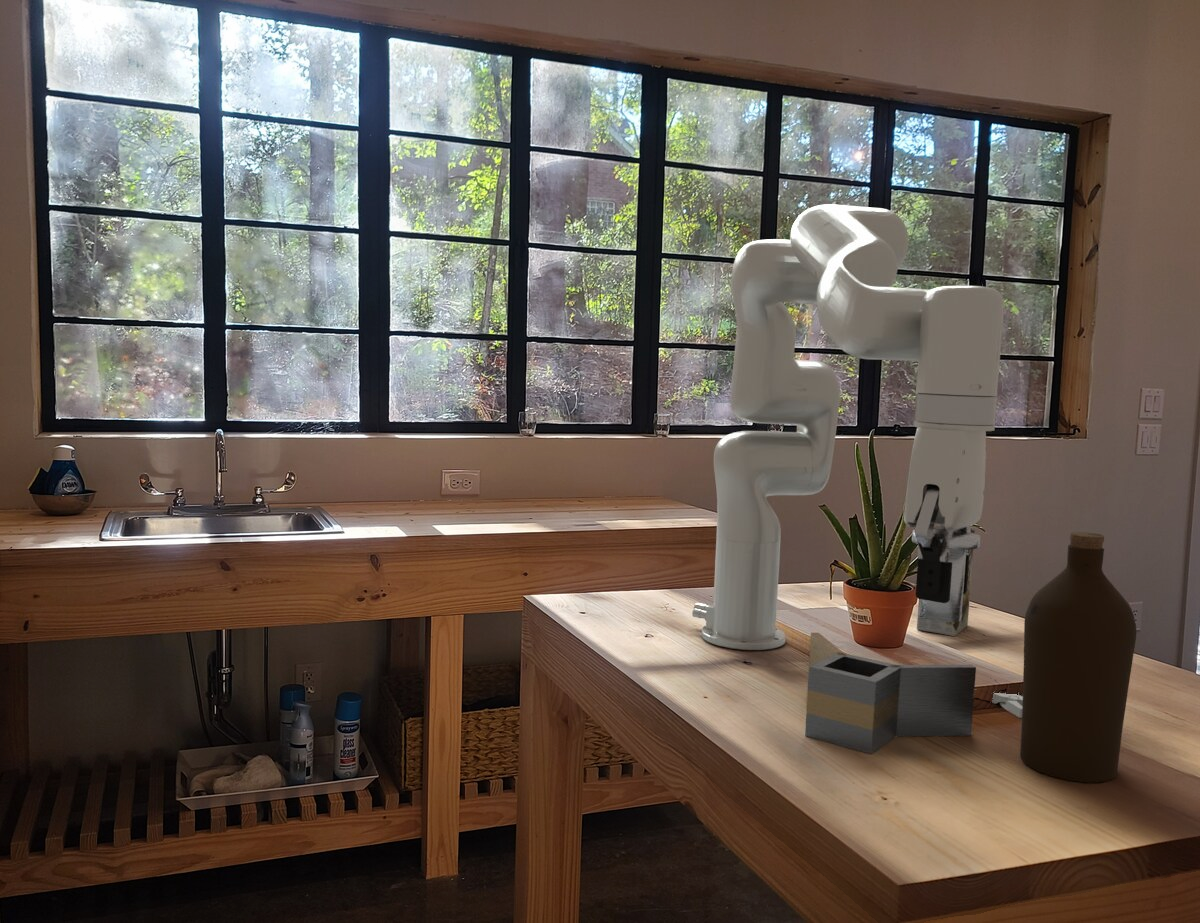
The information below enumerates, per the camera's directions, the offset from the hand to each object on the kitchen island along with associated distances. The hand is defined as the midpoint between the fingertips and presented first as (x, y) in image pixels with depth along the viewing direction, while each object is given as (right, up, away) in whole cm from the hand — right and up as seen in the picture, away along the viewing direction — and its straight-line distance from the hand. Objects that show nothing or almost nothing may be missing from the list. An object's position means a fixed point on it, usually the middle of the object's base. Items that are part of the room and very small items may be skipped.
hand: (941, 594), depth 100 cm
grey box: (-4, -18, +16) cm, 24 cm away
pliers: (+17, -18, +29) cm, 37 cm away
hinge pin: (0, -2, 0) cm, 2 cm away
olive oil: (+16, -19, +7) cm, 26 cm away
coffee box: (+22, -14, +63) cm, 68 cm away
